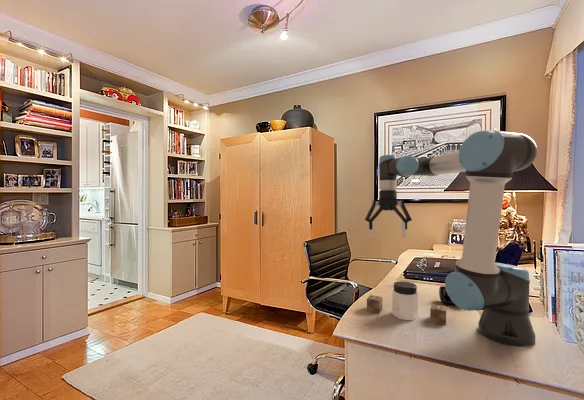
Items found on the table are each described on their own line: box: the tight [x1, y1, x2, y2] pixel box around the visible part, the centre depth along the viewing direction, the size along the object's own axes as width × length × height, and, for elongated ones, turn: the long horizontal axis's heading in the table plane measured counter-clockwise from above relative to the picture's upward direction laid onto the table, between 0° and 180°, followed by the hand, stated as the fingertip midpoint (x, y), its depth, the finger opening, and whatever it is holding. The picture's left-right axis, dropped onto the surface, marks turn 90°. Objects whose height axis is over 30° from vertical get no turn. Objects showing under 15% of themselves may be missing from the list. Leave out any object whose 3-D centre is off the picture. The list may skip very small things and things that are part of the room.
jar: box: [391, 280, 419, 321], centre depth 112 cm, size 9×8×12 cm
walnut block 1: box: [429, 303, 447, 326], centre depth 107 cm, size 5×5×5 cm
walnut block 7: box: [366, 294, 383, 314], centre depth 117 cm, size 5×5×5 cm
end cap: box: [438, 285, 459, 308], centre depth 124 cm, size 10×7×7 cm
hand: (388, 236), depth 134 cm, fingers open, 13 cm apart
